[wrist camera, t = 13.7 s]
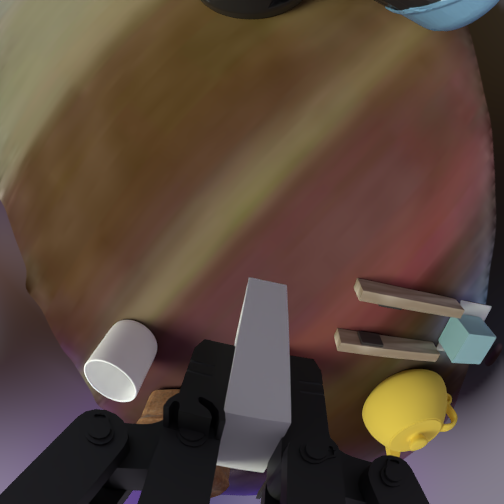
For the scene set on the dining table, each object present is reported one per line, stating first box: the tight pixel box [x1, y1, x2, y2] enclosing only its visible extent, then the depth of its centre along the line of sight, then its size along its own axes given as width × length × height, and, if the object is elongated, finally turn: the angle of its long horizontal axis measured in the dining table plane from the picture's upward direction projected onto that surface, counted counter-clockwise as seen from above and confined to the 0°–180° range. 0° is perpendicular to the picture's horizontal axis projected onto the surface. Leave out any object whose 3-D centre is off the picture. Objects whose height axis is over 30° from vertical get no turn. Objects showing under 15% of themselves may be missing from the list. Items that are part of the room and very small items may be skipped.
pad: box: [436, 300, 491, 351], centre depth 42 cm, size 10×8×1 cm
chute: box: [334, 278, 465, 362], centre depth 41 cm, size 10×18×4 cm, turn 79°
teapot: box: [362, 369, 457, 457], centre depth 44 cm, size 20×19×13 cm
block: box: [438, 314, 496, 364], centre depth 39 cm, size 6×7×6 cm
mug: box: [84, 320, 157, 402], centre depth 43 cm, size 9×12×11 cm
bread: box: [137, 389, 230, 498], centre depth 49 cm, size 12×28×14 cm, turn 10°
